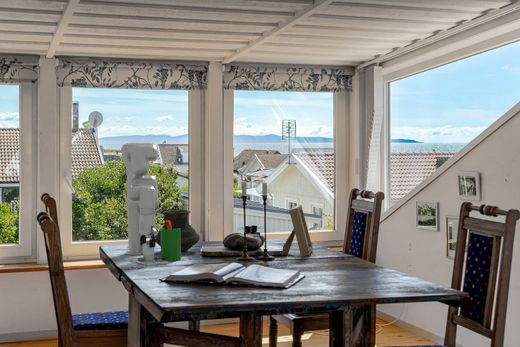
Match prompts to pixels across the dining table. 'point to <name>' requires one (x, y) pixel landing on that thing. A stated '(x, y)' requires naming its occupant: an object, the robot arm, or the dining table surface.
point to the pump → (148, 252)
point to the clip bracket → (154, 262)
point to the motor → (170, 243)
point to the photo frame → (298, 233)
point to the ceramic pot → (180, 221)
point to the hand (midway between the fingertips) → (147, 246)
